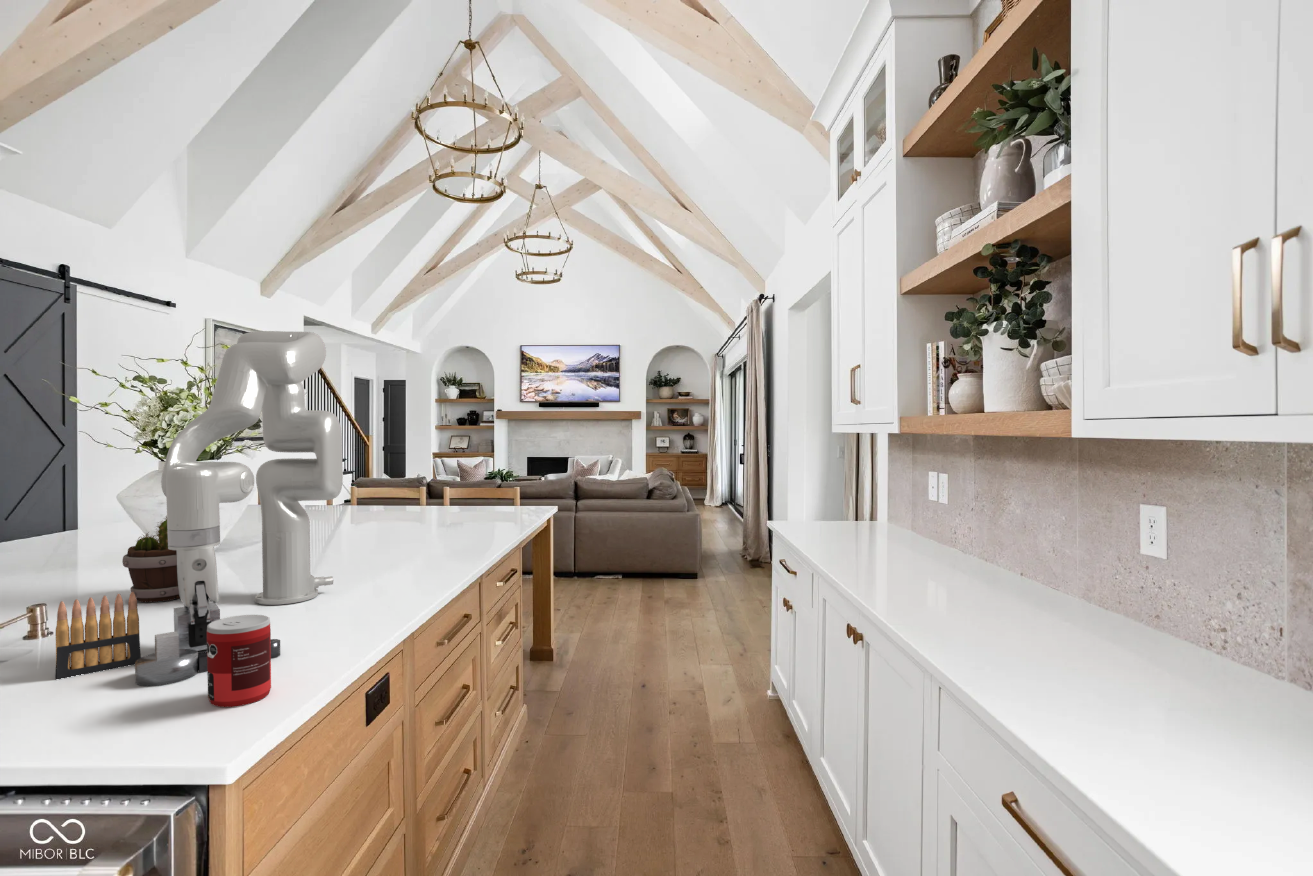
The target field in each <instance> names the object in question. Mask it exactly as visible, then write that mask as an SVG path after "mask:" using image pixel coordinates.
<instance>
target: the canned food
mask: <svg viewBox="0 0 1313 876" xmlns="http://www.w3.org/2000/svg"><path fill="white" fill-rule="evenodd" d="M271 632H272V630H271V620H270V617H269V616H267V615H262V614H241V615H233V616H228V617H227V616H226V617H224V618H220V619H219V620H216V621H214V622H212V623H210V624H208V625H207V649H206V651H207V671H206V673H207V698H208V701H209V703H210V705H212V706H214V707H218V708H235V707H240V706H241V707H242V706H246V705H250V704H254V703H256V702H260V701H261V700H263V699H264V698H265V699H266V697H267V696H269V694H270V692H271V689H272V662H271V661H272V659H271V638H272V636H271V635H272V634H271Z"/></svg>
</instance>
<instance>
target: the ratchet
mask: <svg viewBox="0 0 1313 876" xmlns="http://www.w3.org/2000/svg"><path fill="white" fill-rule="evenodd" d="M280 656H281V640H280V639H277V638H272V639H271V660H272V659H275V658H278V657H280ZM134 671H135V672H134V675H135V677H134V678H135V679H134V682H135V684H136V685H138V686H141V687H159V686H166V685H172V684H176V683H179V682H183V681H186V680H188V679H190V678H193V677H195V676H196V675H197V674H198V673H199V674H201V673H207V650H206V651H201V652H198V651H196V650H192V649H179V635H178V633H177V631H175V632H174V631H171V632H164V633H158V634H155V635H154V653H150V654H147V655H144V656H141V658H140V659H138V660H136V662H135V665H134Z"/></svg>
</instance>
